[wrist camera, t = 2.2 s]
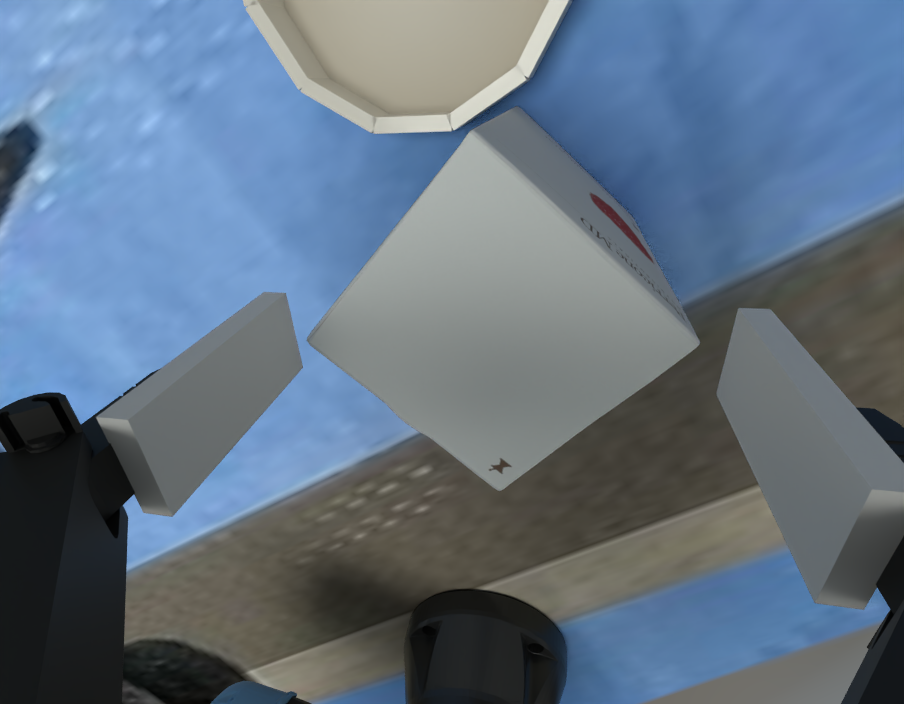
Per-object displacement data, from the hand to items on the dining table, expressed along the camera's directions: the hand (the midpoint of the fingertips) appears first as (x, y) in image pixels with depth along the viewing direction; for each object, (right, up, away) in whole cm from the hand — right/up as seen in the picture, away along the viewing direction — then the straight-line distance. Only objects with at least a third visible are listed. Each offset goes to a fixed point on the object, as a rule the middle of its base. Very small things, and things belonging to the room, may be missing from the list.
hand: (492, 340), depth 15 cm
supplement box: (+3, +7, +13) cm, 15 cm away
